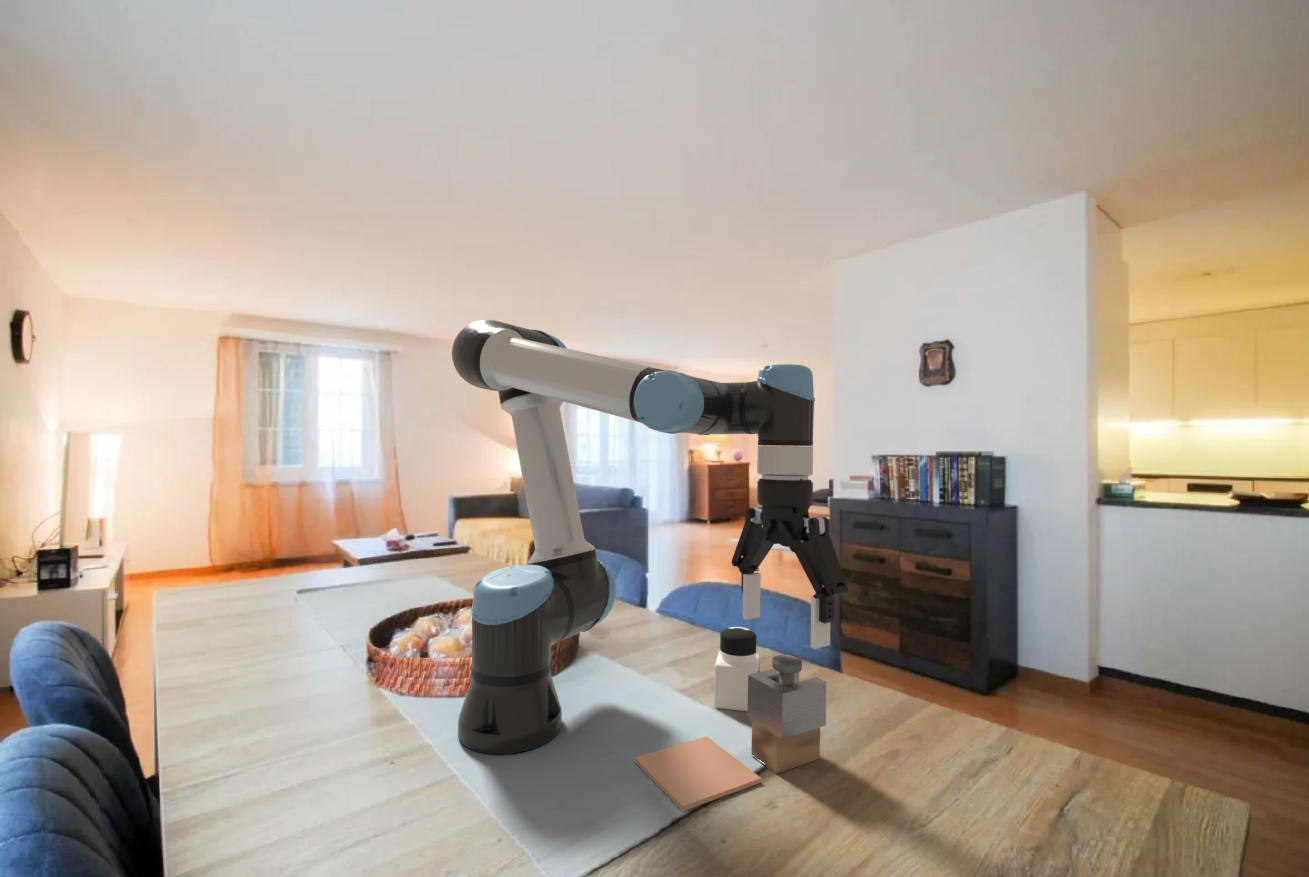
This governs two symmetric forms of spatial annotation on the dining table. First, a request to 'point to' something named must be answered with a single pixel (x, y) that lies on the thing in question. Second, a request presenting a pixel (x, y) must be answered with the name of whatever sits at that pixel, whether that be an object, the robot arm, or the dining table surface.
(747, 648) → the medicine bottle
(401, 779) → the dining table surface
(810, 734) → the knob on wooden block
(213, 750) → the dining table surface
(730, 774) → the tile
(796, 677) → the c link
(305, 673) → the dining table surface
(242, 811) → the dining table surface
